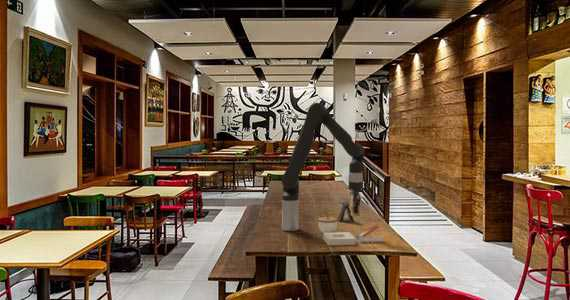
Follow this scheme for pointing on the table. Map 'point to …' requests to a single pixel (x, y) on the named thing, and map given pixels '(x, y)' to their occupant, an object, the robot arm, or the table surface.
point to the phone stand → (344, 213)
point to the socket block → (339, 238)
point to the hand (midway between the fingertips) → (355, 212)
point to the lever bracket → (367, 239)
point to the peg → (353, 208)
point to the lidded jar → (327, 224)
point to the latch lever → (369, 231)
